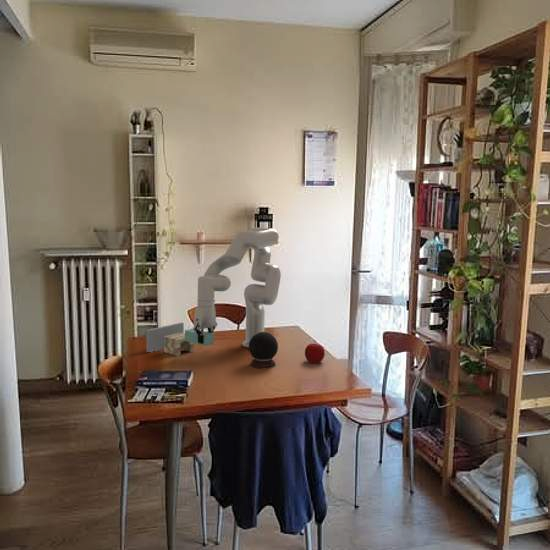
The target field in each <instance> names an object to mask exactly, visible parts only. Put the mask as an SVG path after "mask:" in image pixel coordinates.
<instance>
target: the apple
mask: <svg viewBox="0 0 550 550" xmlns="http://www.w3.org/2000/svg"><path fill="white" fill-rule="evenodd" d="M313 341H314V343H310V344H307V345H306V347H305V348H304V349H305V350H304V357H305V358H306V359H305V360H307V362H308V363H311V362H312V363H311V364H319V363H321V362H322V361H323V360H324V358H325V354H326V353H325V349H324V346H322V345H321V344H318V343H316V340H313Z"/></svg>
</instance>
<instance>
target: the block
mask: <svg viewBox="0 0 550 550" xmlns="http://www.w3.org/2000/svg"><path fill="white" fill-rule="evenodd" d="M163 351H164V353H165V354H170V355H173V356H176V357H178V356H181V352H182V351H186V352H189V353H192V352H195V343H192V342H188V341H185V332H184V333H182V332H181V333H177V334H173V335H168V336H164V349H163Z"/></svg>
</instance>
